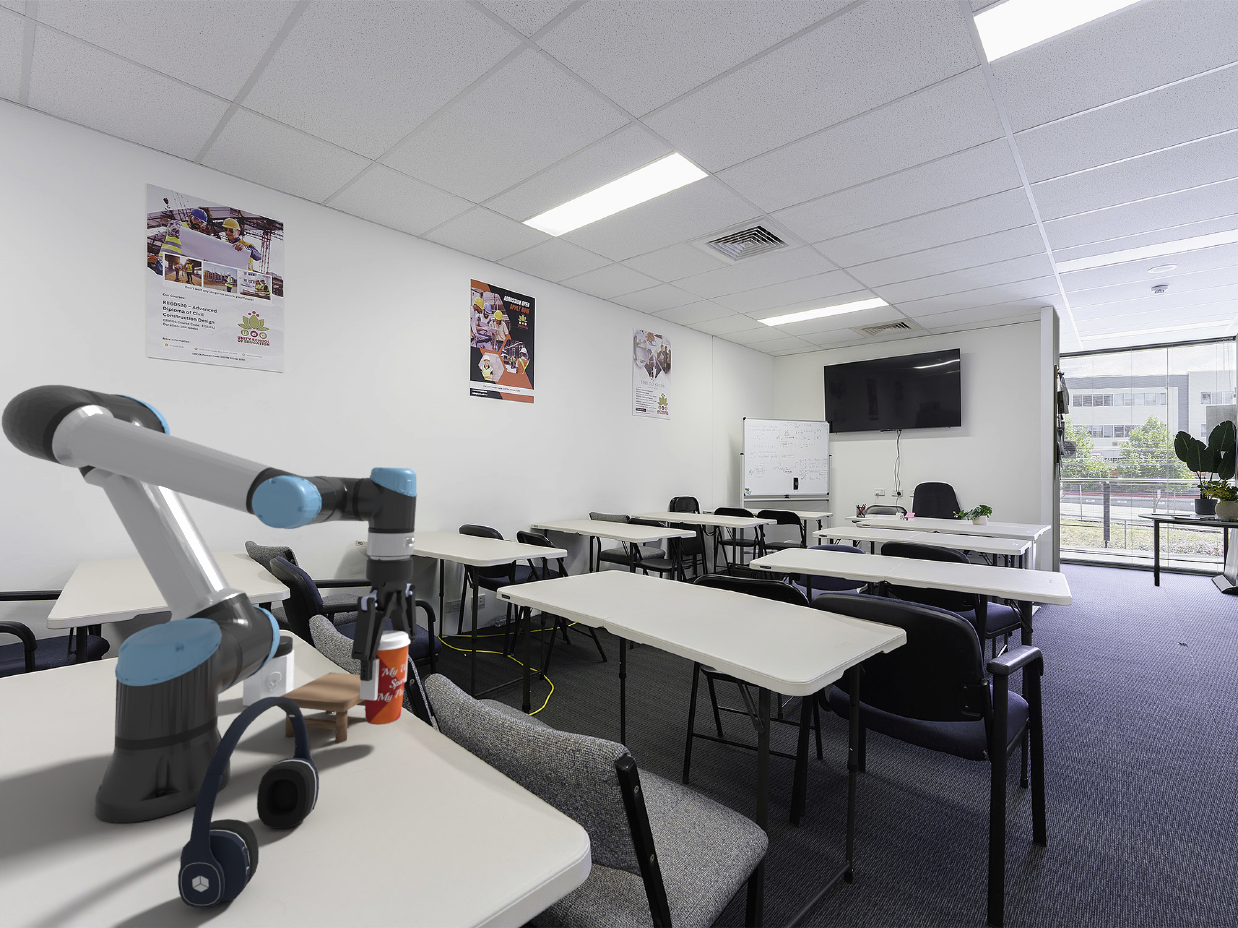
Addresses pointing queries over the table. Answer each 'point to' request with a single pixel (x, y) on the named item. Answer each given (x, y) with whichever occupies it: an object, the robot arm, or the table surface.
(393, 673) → the paper cup
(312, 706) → the stool
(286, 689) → the jar
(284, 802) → the headphones
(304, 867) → the table surface
